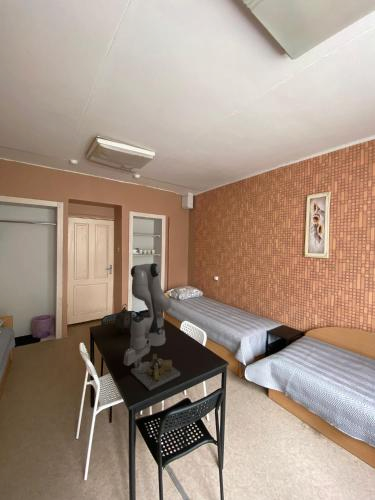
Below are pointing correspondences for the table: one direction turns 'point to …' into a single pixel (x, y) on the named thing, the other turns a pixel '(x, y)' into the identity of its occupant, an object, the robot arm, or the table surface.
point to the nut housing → (149, 379)
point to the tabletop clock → (123, 318)
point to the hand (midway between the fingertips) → (137, 365)
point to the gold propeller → (155, 367)
